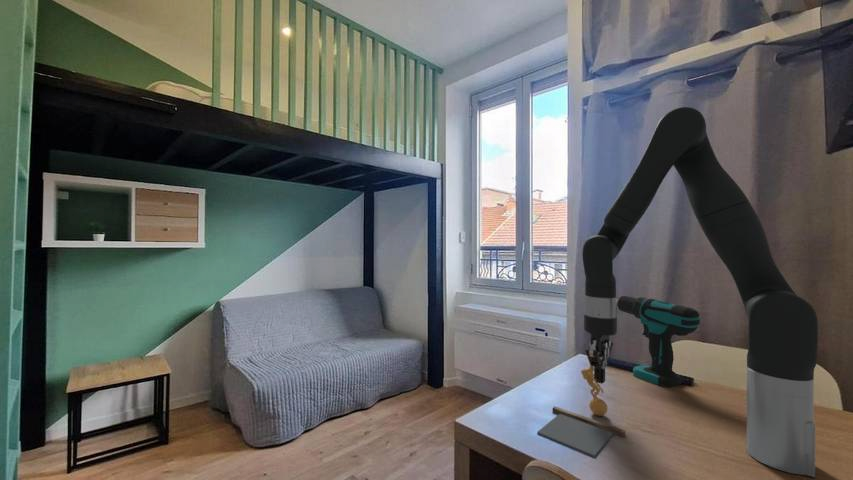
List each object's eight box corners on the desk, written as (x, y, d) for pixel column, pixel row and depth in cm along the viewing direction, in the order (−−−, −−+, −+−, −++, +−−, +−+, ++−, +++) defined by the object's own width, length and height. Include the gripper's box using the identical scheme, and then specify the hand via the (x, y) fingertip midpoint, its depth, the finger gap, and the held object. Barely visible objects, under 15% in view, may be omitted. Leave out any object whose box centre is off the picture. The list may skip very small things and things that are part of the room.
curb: (625, 435, 76) (625, 430, 76) (623, 437, 76) (623, 432, 76) (554, 410, 88) (554, 406, 88) (552, 411, 87) (552, 407, 87)
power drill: (604, 365, 121) (604, 293, 121) (621, 362, 124) (621, 292, 125) (686, 396, 97) (687, 306, 97) (705, 390, 101) (705, 304, 101)
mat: (613, 434, 77) (613, 432, 77) (594, 457, 68) (594, 455, 68) (559, 415, 85) (559, 413, 85) (537, 433, 77) (537, 431, 77)
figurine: (616, 423, 81) (616, 372, 82) (591, 424, 81) (592, 372, 81) (596, 406, 90) (596, 360, 90) (574, 407, 89) (574, 360, 89)
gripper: (607, 320, 81) (606, 394, 81) (624, 312, 90) (623, 379, 90) (574, 315, 86) (574, 385, 86) (594, 308, 96) (593, 371, 96)
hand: (599, 381), depth 88 cm, fingers closed
